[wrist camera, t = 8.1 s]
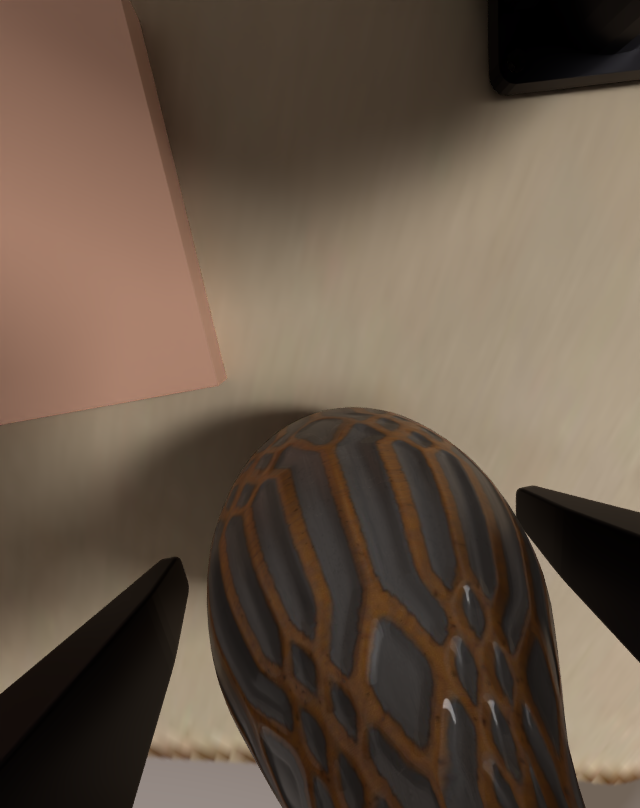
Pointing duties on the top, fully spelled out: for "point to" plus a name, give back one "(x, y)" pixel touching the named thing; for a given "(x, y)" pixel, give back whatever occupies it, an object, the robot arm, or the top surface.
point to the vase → (385, 624)
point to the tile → (91, 220)
